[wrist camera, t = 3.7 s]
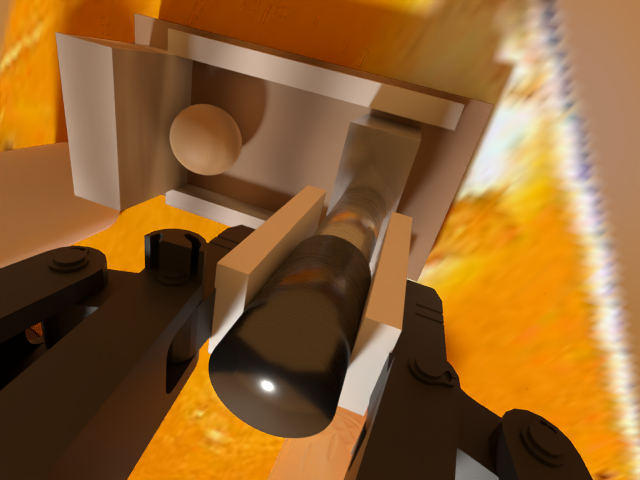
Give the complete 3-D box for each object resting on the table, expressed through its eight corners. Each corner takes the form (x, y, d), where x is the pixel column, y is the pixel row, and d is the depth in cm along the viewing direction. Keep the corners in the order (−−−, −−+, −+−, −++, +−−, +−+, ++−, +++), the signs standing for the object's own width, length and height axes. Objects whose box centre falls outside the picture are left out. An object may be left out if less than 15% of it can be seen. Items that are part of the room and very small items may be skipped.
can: (74, 119, 27) (-153, 142, 16) (143, 192, 28) (-28, 257, 17) (42, 179, 30) (-161, 229, 20) (105, 241, 31) (-56, 321, 21)
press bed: (157, 180, 27) (63, 213, 20) (157, 18, 22) (31, -13, 15) (417, 267, 24) (414, 342, 17) (487, 102, 19) (524, 113, 12)
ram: (336, 228, 22) (191, 463, 8) (367, 113, 19) (213, 189, 5) (381, 243, 22) (305, 516, 8) (421, 127, 18) (411, 254, 5)
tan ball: (195, 157, 23) (153, 170, 19) (198, 94, 21) (153, 96, 18) (249, 174, 22) (216, 191, 19) (257, 111, 21) (223, 117, 17)
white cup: (318, 368, 30) (275, 483, 22) (396, 414, 30) (384, 549, 21) (285, 415, 34) (237, 528, 25) (353, 456, 34) (329, 585, 25)
